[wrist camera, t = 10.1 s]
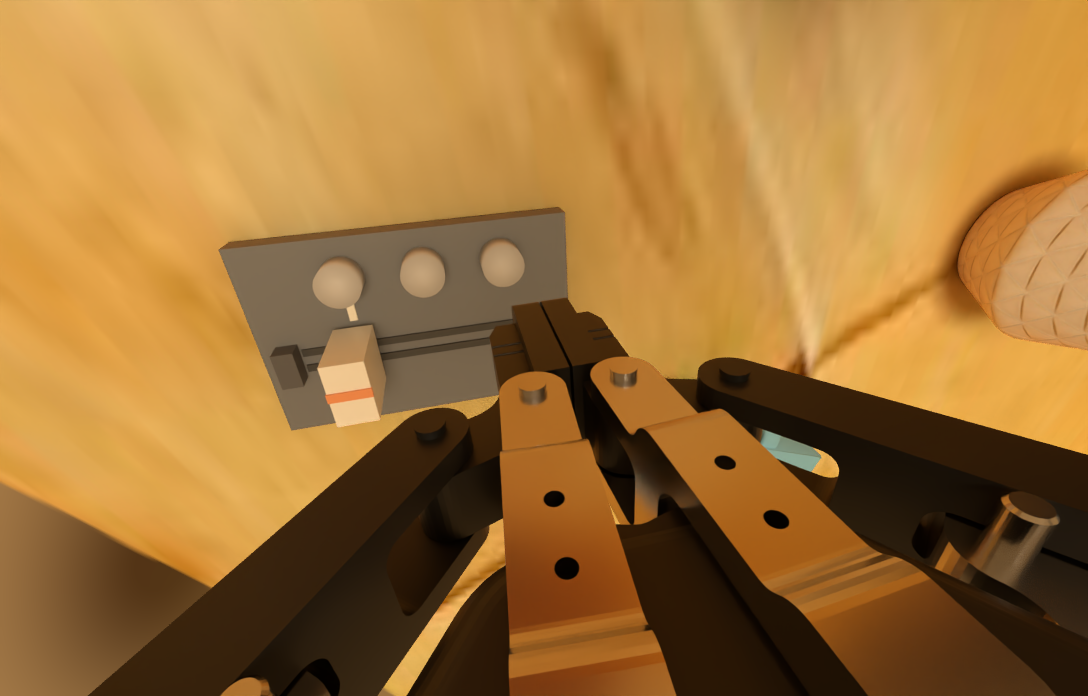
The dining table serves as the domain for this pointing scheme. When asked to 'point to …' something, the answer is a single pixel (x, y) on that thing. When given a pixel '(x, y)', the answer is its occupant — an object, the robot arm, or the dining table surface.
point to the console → (396, 302)
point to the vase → (1033, 262)
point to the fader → (353, 375)
